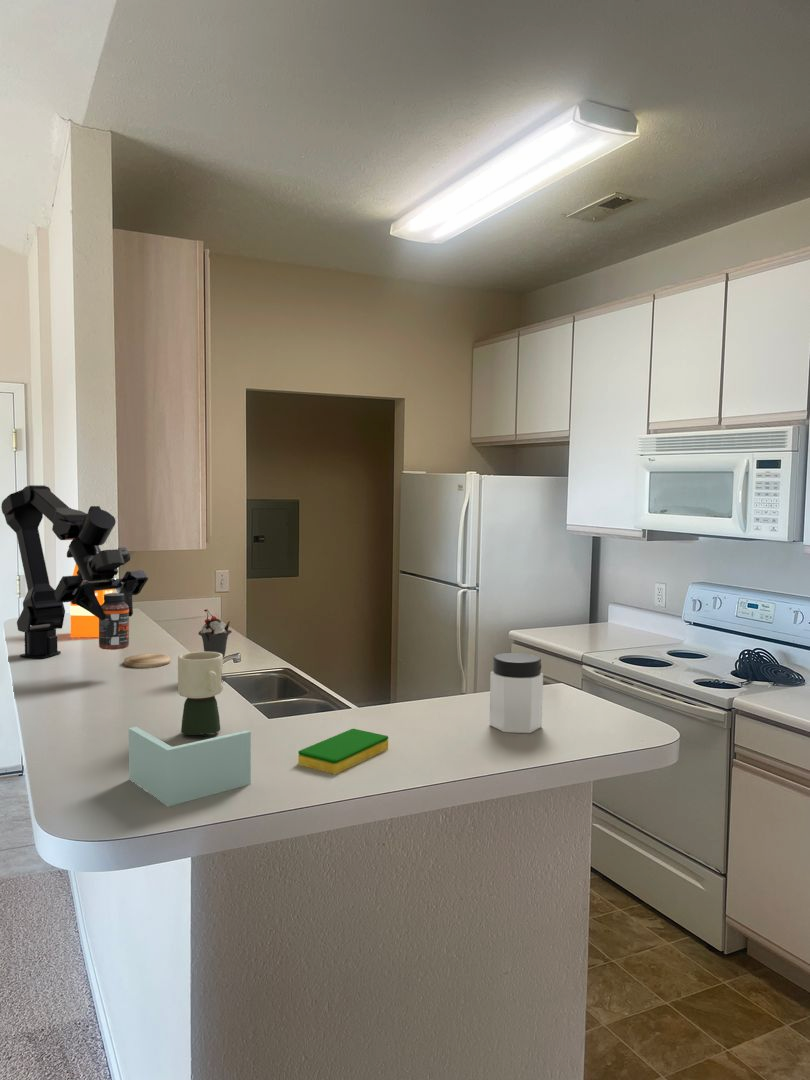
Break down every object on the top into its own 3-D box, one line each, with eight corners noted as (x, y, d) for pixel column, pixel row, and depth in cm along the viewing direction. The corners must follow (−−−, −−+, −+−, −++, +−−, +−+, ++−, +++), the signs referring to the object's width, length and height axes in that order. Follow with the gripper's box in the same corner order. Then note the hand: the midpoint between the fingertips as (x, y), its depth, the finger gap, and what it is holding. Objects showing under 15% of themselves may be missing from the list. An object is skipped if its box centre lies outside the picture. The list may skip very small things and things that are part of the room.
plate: (114, 666, 178) (114, 661, 178) (140, 657, 188) (140, 652, 188) (154, 669, 175) (154, 664, 175) (178, 660, 185) (178, 655, 185)
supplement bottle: (122, 650, 163) (122, 596, 162) (94, 650, 163) (93, 595, 162) (133, 645, 169) (133, 592, 168) (105, 644, 169) (105, 591, 168)
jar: (550, 730, 134) (552, 660, 134) (510, 736, 131) (511, 664, 130) (520, 716, 142) (522, 650, 142) (481, 722, 139) (483, 654, 138)
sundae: (191, 681, 165) (191, 609, 164) (211, 674, 171) (211, 605, 170) (218, 684, 163) (218, 611, 162) (237, 677, 169) (237, 607, 168)
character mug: (235, 738, 128) (235, 658, 127) (193, 746, 124) (193, 664, 123) (207, 722, 137) (207, 647, 136) (167, 729, 132) (166, 652, 131)
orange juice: (103, 638, 210) (102, 563, 209) (70, 637, 210) (69, 562, 209) (114, 632, 218) (113, 560, 217) (82, 632, 218) (81, 559, 217)
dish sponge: (389, 750, 124) (389, 735, 124) (335, 777, 113) (335, 760, 113) (352, 742, 128) (352, 727, 128) (296, 767, 117) (296, 750, 116)
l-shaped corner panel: (250, 785, 109) (250, 731, 108) (167, 808, 101) (167, 750, 100) (208, 762, 118) (208, 712, 117) (129, 781, 110) (128, 728, 109)
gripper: (60, 536, 160) (88, 597, 154) (143, 533, 174) (172, 588, 168) (42, 572, 166) (69, 631, 159) (124, 566, 180) (151, 620, 174)
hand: (117, 617), depth 165 cm, fingers closed on supplement bottle, 6 cm apart
